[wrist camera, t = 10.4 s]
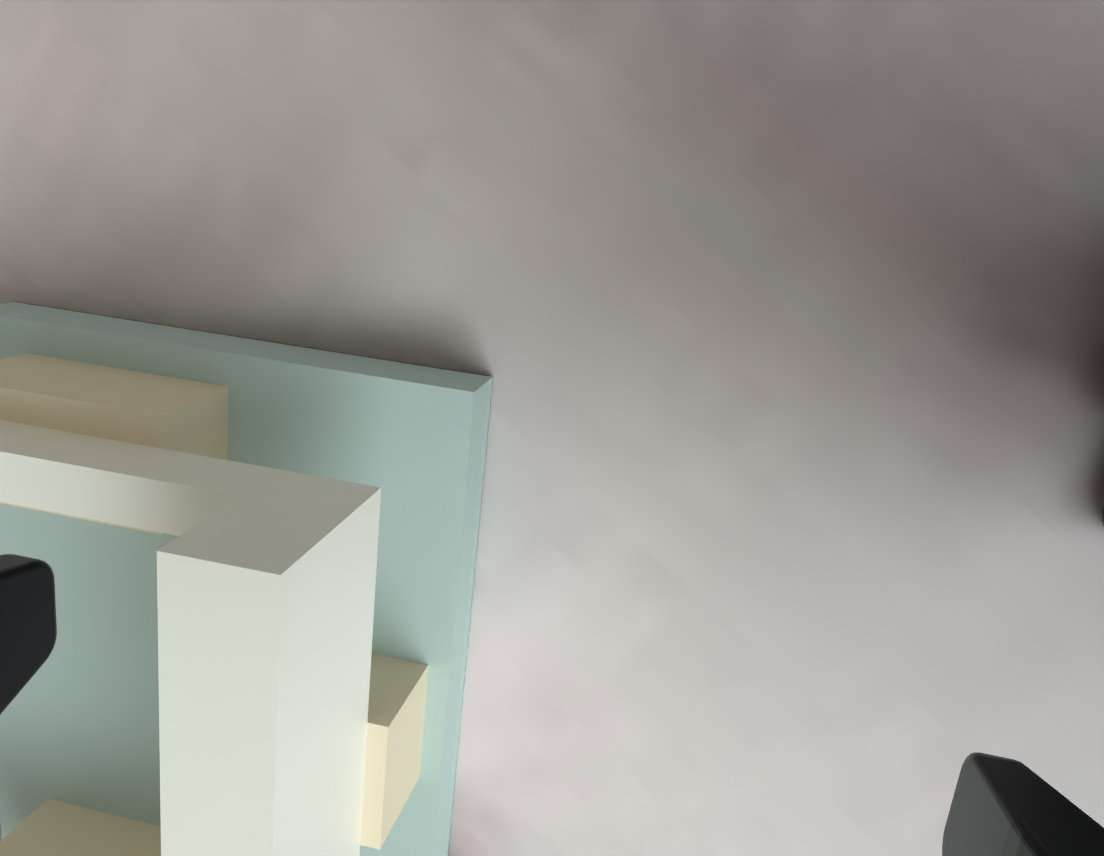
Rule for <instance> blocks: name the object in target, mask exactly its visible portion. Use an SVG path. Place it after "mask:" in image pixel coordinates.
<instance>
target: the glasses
mask: <svg viewBox="0 0 1104 856" xmlns="http://www.w3.org/2000/svg"><path fill="white" fill-rule="evenodd" d="M0 502H5V503H10V504H15V505H20V506H26V507H31V508H36V509H41V510H46V511H52V512H57V513H62V514H67V515H72V516H77V517H83V518H88V519H93V520H98V521H103V522H108V523H114V524H119V525H124V526H129V527H134V528H139V529H145V530H150V531H155V532H160V533H165V534H170V535H176V536H179V537H177V538H176V539H174V540H173V541H171V542H170V543H168V544H166V545H165V546H163V547H162V548H160V549H159V550H157V606H158V677H159V747H160V817H161V856H360V839H361V822H362V805H363V789H364V772H365V755H366V738H367V721H368V704H369V687H370V670H371V654H372V637H373V620H374V603H375V586H376V569H377V552H378V535H379V518H380V502H381V487H376V486H370V485H365V484H359V483H354V482H348V481H342V480H337V479H331V478H325V477H320V476H314V475H308V474H303V473H297V472H292V471H286V470H280V469H275V468H269V467H263V466H258V465H252V464H246V463H241V462H235V461H230V460H224V459H218V458H213V457H207V456H201V455H196V454H190V453H185V452H179V451H173V450H168V449H162V448H156V447H151V446H145V445H139V444H134V443H128V442H123V441H117V440H111V439H106V438H100V437H94V436H89V435H83V434H77V433H72V432H66V431H61V430H55V429H49V428H44V427H38V426H32V425H27V424H21V423H15V422H10V421H4V420H0Z"/></svg>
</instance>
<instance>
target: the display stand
mask: <svg viewBox="0 0 1104 856" xmlns="http://www.w3.org/2000/svg"><path fill="white" fill-rule="evenodd" d="M492 382H493V377H490V376H483V375H477V374H471V373H464V372H458V371H452V370H445V369H439V368H432V367H426V366H420V365H413V364H407V363H400V362H394V361H388V360H381V359H375V358H369V357H362V356H356V355H349V354H343V353H337V352H330V351H324V350H318V349H311V348H305V347H298V346H292V345H286V344H279V343H273V342H266V341H260V340H254V339H247V338H241V337H235V336H228V335H222V334H215V333H209V332H203V331H196V330H190V329H184V328H177V327H171V326H164V325H158V324H152V323H145V322H139V321H133V320H126V319H120V318H113V317H107V316H101V315H94V314H88V313H81V312H75V311H69V310H62V309H56V308H50V307H43V306H37V305H30V304H24V303H18V302H10V303H4V304H0V420H4V421H10V422H15V423H21V424H27V425H32V426H38V427H44V428H49V429H55V430H61V431H66V432H72V433H77V434H83V435H89V436H94V437H100V438H106V439H111V440H117V441H123V442H128V443H134V444H139V445H145V446H151V447H156V448H162V449H168V450H173V451H179V452H185V453H190V454H196V455H201V456H207V457H213V458H218V459H224V460H230V461H235V462H241V463H246V464H252V465H258V466H263V467H269V468H275V469H280V470H286V471H292V472H297V473H303V474H308V475H314V476H320V477H325V478H331V479H337V480H342V481H348V482H354V483H359V484H365V485H370V486H376V487H381V502H380V518H379V535H378V552H377V569H376V586H375V603H374V620H373V637H372V654H371V670H370V687H369V704H368V721H367V738H366V755H365V772H364V789H363V805H362V822H361V839H360V856H448V848H449V837H450V826H451V816H452V805H453V795H454V784H455V773H456V763H457V752H458V742H459V731H460V720H461V710H462V699H463V689H464V678H465V668H466V657H467V646H468V636H469V625H470V615H471V604H472V593H473V583H474V572H475V562H476V551H477V540H478V530H479V519H480V509H481V498H482V488H483V477H484V466H485V456H486V445H487V435H488V424H489V413H490V403H491V392H492ZM177 537H179V536H176V535H170V534H165V533H160V532H155V531H150V530H145V529H139V528H134V527H129V526H124V525H119V524H114V523H108V522H103V521H98V520H93V519H88V518H83V517H77V516H72V515H67V514H62V513H57V512H52V511H46V510H41V509H36V508H31V507H26V506H20V505H15V504H10V503H5V502H0V555H4V554H15V555H20V556H25V557H30V558H35V559H40V560H43V561H45V562H46V563H48V564H49V565H50V567H51V568H52V570H53V573H54V578H55V599H56V621H57V637H56V642H55V645H54V648H53V650H52V652H51V654H50V656H49V658H48V659H47V660H46V662H45V663H44V664H43V665H42V666H41V667H40V669H39V670H38V671H37V672H36V673H35V675H34V676H33V677H32V678H31V679H30V680H29V682H28V683H27V684H26V685H25V686H24V688H23V689H22V690H21V691H20V692H19V693H18V695H17V696H16V697H15V698H14V699H13V701H12V702H11V703H10V704H9V705H8V706H7V708H6V709H5V710H4V711H3V712H2V714H1V715H0V822H1V836H2V841H0V856H161V817H160V747H159V677H158V606H157V550H159V549H160V548H162V547H163V546H165V545H166V544H168V543H170V542H171V541H173V540H174V539H176V538H177Z"/></svg>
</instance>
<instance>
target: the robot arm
mask: <svg viewBox="0 0 1104 856" xmlns="http://www.w3.org/2000/svg"><path fill="white" fill-rule="evenodd" d="M1102 522H1103V525H1104V509H1103V515H1102ZM56 637H57V621H56V599H55V578H54V573H53V570H52V568H51V567H50V565H49V564H48V563H46V562H45V561H43V560H40V559H35V558H30V557H25V556H20V555H15V554H4V555H0V715H1V714H2V712H3V711H4V710H5V709H6V708H7V706H8V705H9V704H10V703H11V702H12V701H13V699H14V698H15V697H16V696H17V695H18V693H19V692H20V691H21V690H22V689H23V688H24V686H25V685H26V684H27V683H28V682H29V680H30V679H31V678H32V677H33V676H34V675H35V673H36V672H37V671H38V670H39V669H40V667H41V666H42V665H43V664H44V663H45V662H46V660H47V659H48V658H49V656H50V654H51V652H52V650H53V648H54V645H55V642H56ZM942 856H1104V828H1103V827H1102V826H1101V825H1099V824H1098V823H1097V822H1096V821H1094V820H1093V819H1092V818H1091V817H1089V816H1088V815H1087V814H1086V813H1084V812H1083V811H1082V810H1081V809H1079V808H1078V807H1077V806H1075V805H1074V804H1073V803H1072V802H1070V801H1069V800H1068V799H1067V798H1065V797H1064V796H1063V795H1062V794H1060V793H1059V792H1058V791H1057V790H1055V789H1054V788H1053V787H1052V786H1050V785H1049V784H1048V783H1047V782H1045V781H1044V780H1043V779H1042V778H1040V777H1039V776H1038V775H1036V774H1035V773H1034V772H1033V771H1031V770H1030V769H1029V768H1028V767H1026V766H1025V765H1024V764H1022V763H1021V762H1019V761H1016V760H1013V759H1009V758H1004V757H999V756H994V755H989V754H984V753H972V754H970V755H969V756H968V757H967V758H966V759H965V761H964V763H963V765H962V768H961V771H960V775H959V779H958V782H957V786H956V789H955V793H954V797H953V800H952V804H951V807H950V811H949V815H948V818H947V822H946V825H945V830H944V835H943V845H942Z"/></svg>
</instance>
